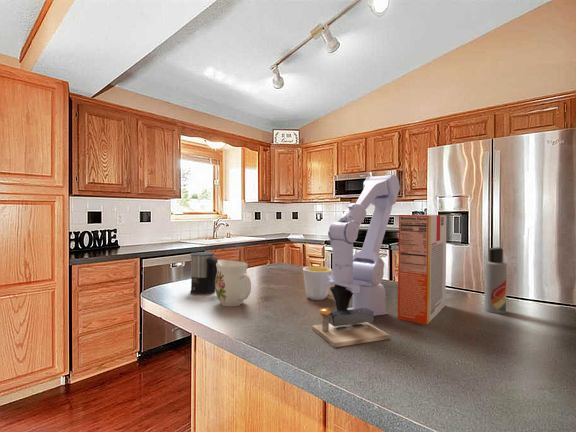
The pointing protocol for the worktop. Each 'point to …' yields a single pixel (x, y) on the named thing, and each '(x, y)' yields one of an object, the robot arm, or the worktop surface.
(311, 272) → the mug
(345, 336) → the tan piece
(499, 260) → the lotion bottle
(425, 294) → the cereal box
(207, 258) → the milk frother
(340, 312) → the swing bar
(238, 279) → the pitcher
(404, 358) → the worktop surface
